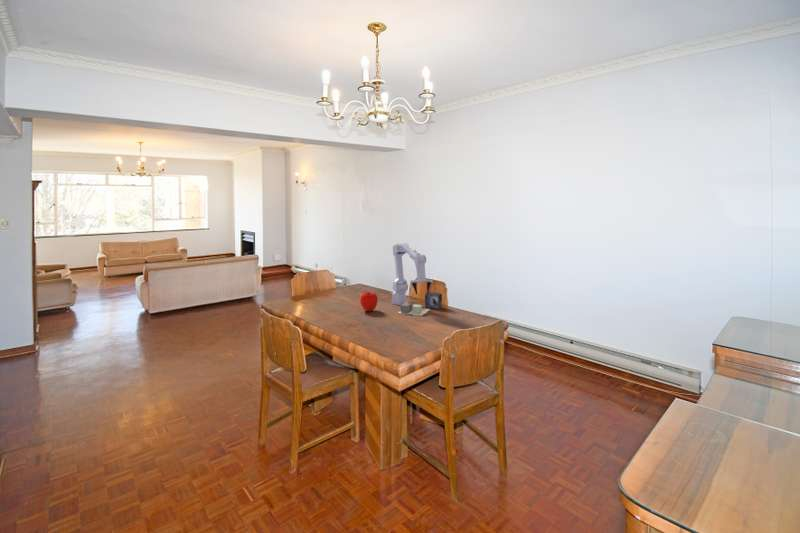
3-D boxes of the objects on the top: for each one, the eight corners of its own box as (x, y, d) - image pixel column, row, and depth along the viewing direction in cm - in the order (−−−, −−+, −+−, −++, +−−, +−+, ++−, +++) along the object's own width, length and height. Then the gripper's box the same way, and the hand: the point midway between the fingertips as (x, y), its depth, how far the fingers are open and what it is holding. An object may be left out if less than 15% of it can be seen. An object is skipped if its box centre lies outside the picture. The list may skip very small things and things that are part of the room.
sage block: (412, 313, 263) (412, 306, 262) (415, 311, 268) (415, 304, 267) (419, 314, 261) (419, 307, 260) (422, 312, 266) (422, 305, 265)
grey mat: (397, 313, 265) (397, 312, 265) (407, 307, 280) (407, 306, 280) (421, 316, 259) (421, 315, 258) (430, 310, 273) (430, 309, 273)
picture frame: (424, 308, 278) (424, 293, 276) (428, 305, 284) (428, 291, 282) (438, 310, 273) (438, 295, 272) (442, 307, 279) (442, 293, 277)
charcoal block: (400, 312, 266) (400, 305, 265) (403, 310, 270) (403, 303, 269) (407, 313, 264) (407, 306, 263) (410, 311, 268) (410, 304, 267)
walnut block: (404, 309, 272) (404, 304, 271) (408, 307, 278) (408, 301, 278) (414, 311, 269) (414, 305, 268) (417, 308, 275) (418, 302, 275)
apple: (361, 314, 263) (360, 294, 261) (359, 309, 275) (359, 290, 272) (378, 313, 266) (378, 293, 263) (376, 308, 277) (376, 289, 275)
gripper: (409, 274, 260) (410, 295, 260) (431, 273, 257) (432, 294, 258) (410, 273, 266) (412, 293, 267) (432, 272, 264) (433, 292, 265)
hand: (422, 293), depth 263 cm, fingers open, 7 cm apart
